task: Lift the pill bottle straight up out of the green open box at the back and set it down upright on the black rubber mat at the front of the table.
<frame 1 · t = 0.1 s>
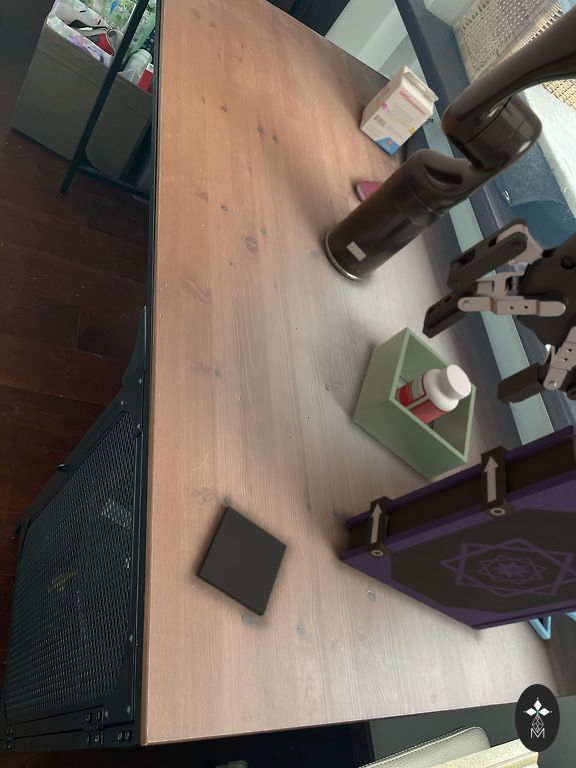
hand: (464, 362, 48), 29 cm above the table, tool pointing down, fingers open, 8 cm apart
green open box: (399, 412, 89), on the table
book: (410, 576, 77), on the table
mat: (242, 560, 63), on the table
pill bottle: (398, 413, 89), resting in green open box
chair: (525, 600, 88), on the table
ink box: (376, 132, 125), on the table
eraser: (375, 197, 113), on the table
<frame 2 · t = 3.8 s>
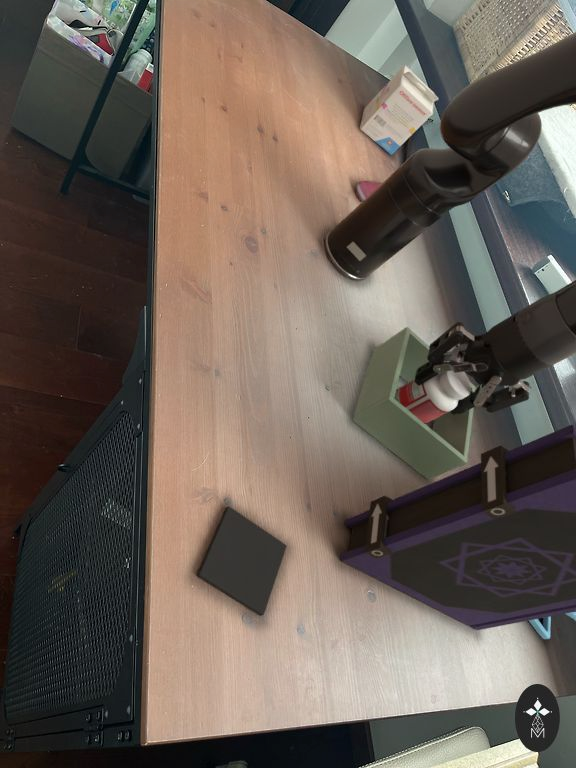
hand: (434, 393, 85), 7 cm above the table, tool pointing down, fingers closed on pill bottle, 6 cm apart
pill bottle: (398, 413, 89), resting in green open box, touching gripper
everything else where it was.
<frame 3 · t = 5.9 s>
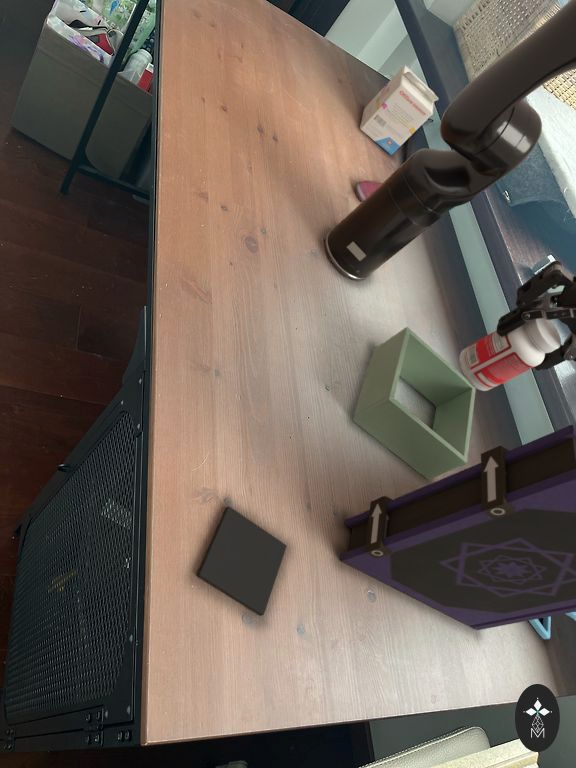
hand: (517, 347, 75), 20 cm above the table, tool pointing down, fingers closed on pill bottle, 6 cm apart
pill bottle: (472, 371, 80), point 13 cm above the table, touching gripper
everything else where it was.
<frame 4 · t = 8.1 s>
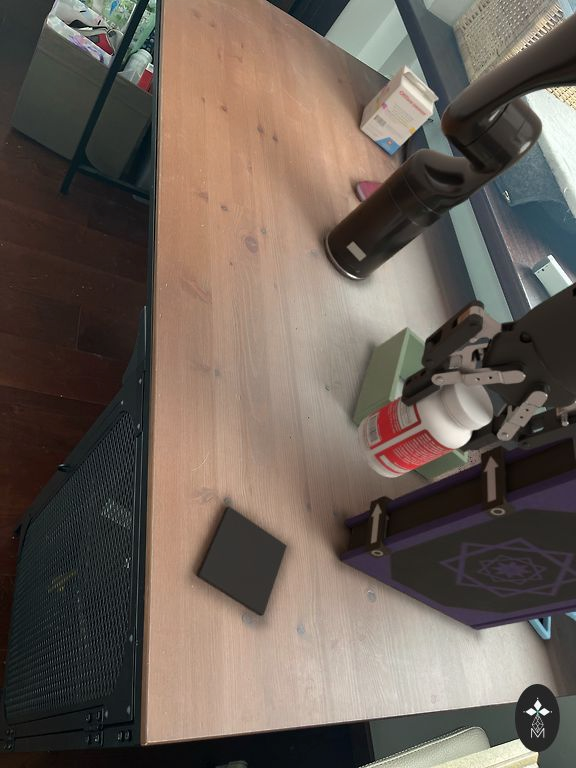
hand: (433, 419, 53), 23 cm above the table, tool pointing down, fingers closed on pill bottle, 6 cm apart
pill bottle: (377, 448, 58), point 16 cm above the table, touching gripper
everything else where it was.
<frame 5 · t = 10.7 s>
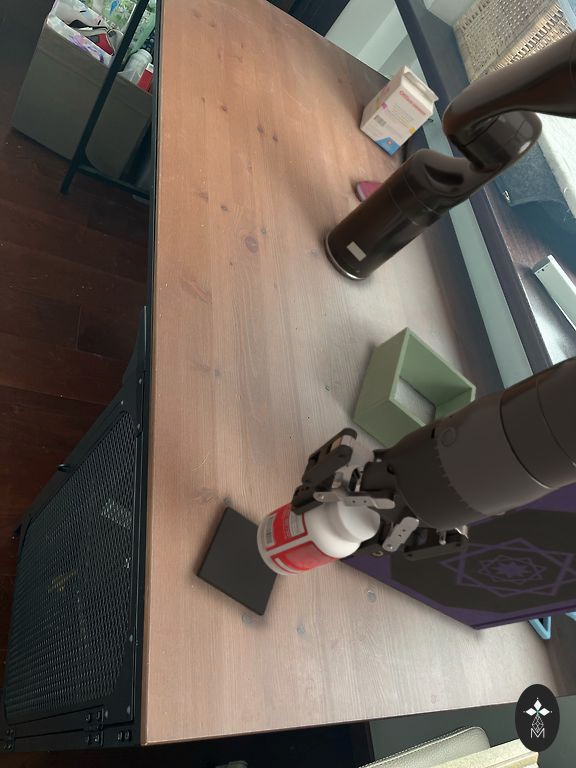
hand: (325, 524, 54), 13 cm above the table, tool pointing down, fingers closed on pill bottle, 6 cm apart
pill bottle: (280, 543, 59), point 7 cm above the table, touching gripper
everything else where it was.
when the fingers open (7 cm above the table, at t = 12.7 s): pill bottle stays where it is, resting on mat.
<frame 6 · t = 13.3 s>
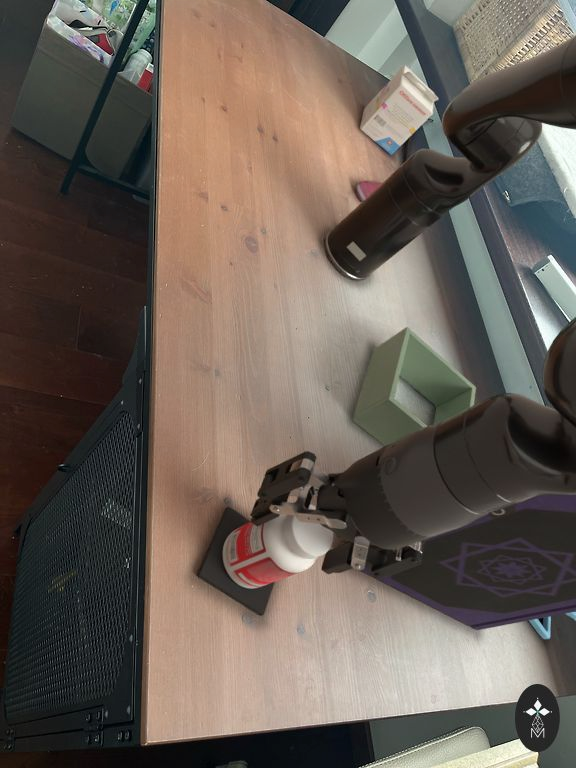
hand: (291, 539, 57), 8 cm above the table, tool pointing down, fingers open, 8 cm apart
pill bottle: (245, 558, 63), resting on mat
everything else where it was.
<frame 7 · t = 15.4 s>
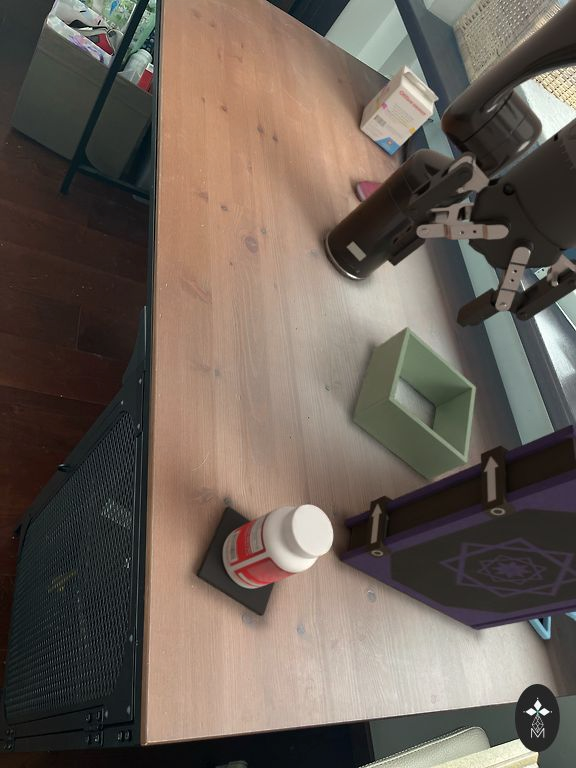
hand: (426, 288, 54), 27 cm above the table, tool pointing down, fingers open, 8 cm apart
nothing on the table moved.
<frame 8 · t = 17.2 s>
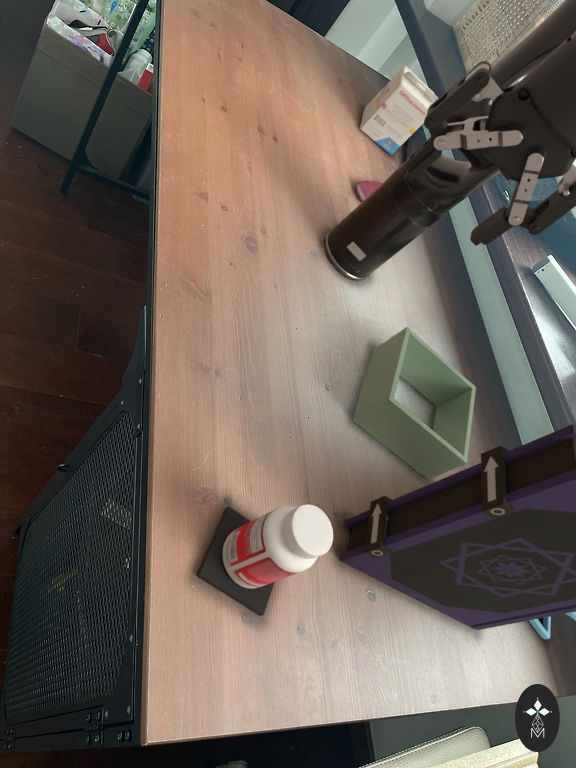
hand: (441, 207, 56), 30 cm above the table, tool pointing down, fingers open, 8 cm apart
nothing on the table moved.
at the end: pill bottle inside the target area on the mat (0.1 cm from its centre), point 0.4 cm above the mat's base; pill bottle tilted 0°; the gripper is holding nothing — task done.
